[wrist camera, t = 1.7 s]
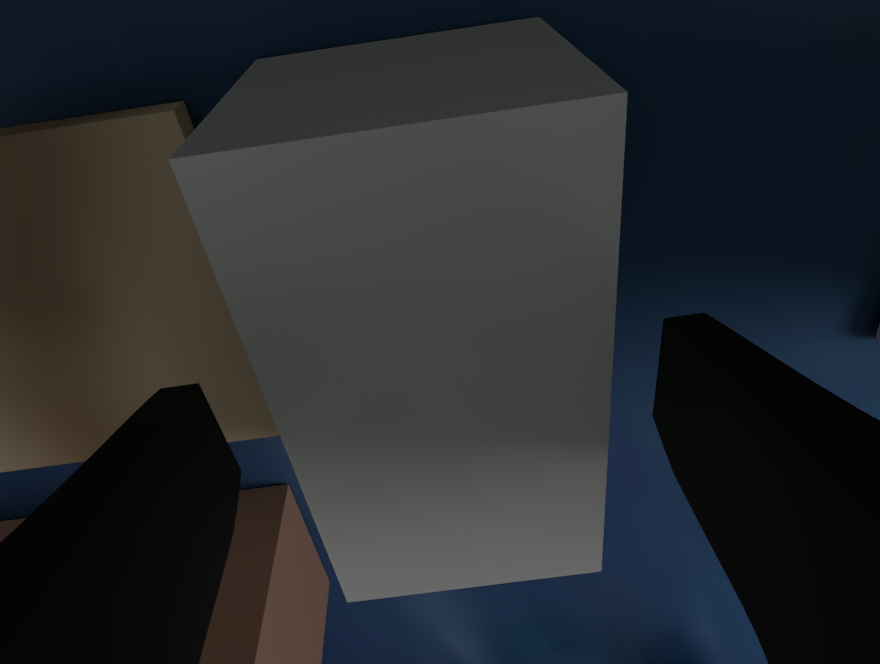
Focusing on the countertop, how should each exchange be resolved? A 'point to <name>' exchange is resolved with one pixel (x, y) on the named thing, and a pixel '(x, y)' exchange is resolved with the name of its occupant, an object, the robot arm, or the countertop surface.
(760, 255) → the countertop surface
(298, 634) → the tan cardboard brick
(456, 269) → the block
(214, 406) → the coaster
